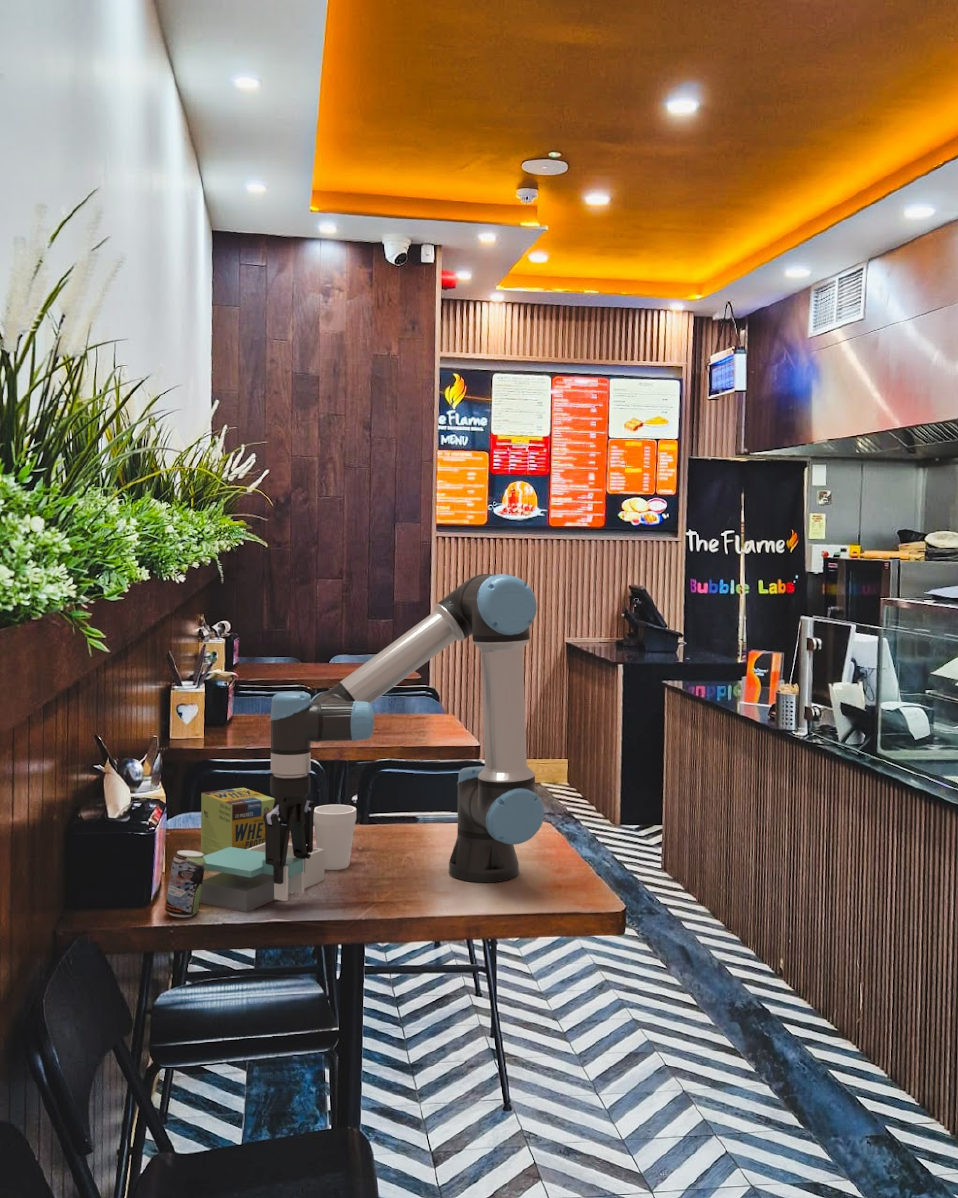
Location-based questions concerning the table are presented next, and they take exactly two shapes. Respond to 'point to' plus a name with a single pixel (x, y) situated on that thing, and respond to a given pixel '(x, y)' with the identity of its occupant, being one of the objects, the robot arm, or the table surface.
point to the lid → (247, 862)
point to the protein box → (233, 819)
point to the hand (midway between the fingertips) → (289, 895)
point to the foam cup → (335, 834)
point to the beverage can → (185, 883)
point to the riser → (237, 891)
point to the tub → (312, 865)
